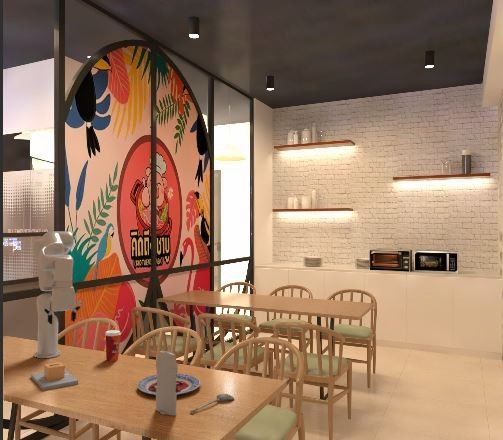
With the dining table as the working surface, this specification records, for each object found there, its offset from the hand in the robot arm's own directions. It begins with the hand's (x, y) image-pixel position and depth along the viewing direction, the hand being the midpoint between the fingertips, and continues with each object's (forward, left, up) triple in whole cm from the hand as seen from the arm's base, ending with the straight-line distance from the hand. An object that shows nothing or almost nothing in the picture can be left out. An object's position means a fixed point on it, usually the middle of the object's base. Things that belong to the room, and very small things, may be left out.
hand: (61, 322), depth 209 cm
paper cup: (-9, +27, -23) cm, 37 cm away
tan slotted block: (+7, -5, -22) cm, 23 cm away
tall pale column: (+65, +18, -23) cm, 72 cm away
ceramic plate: (+43, +31, -24) cm, 59 cm away
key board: (+7, -5, -23) cm, 25 cm away
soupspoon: (+69, +36, -24) cm, 82 cm away
